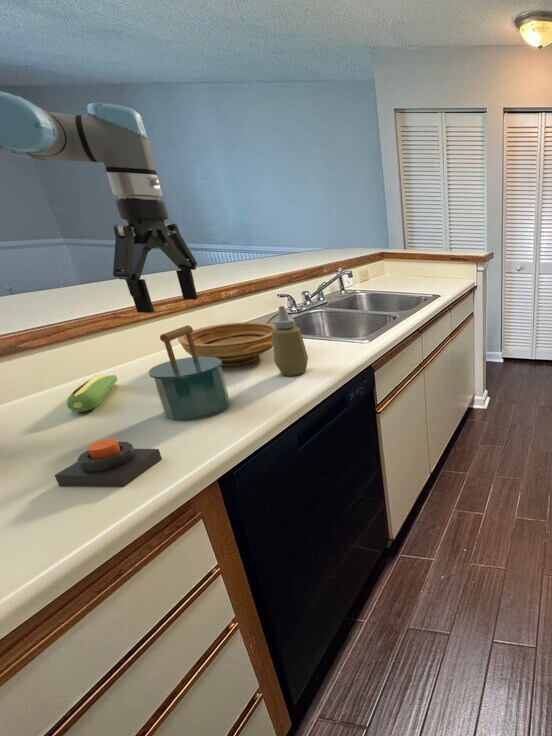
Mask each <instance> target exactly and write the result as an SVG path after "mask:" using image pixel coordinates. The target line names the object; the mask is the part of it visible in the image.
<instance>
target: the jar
mask: <svg viewBox="0 0 552 736" xmlns="http://www.w3.org/2000/svg"><path fill="white" fill-rule="evenodd" d="M152 379H153V382H154V385H155V388H156V390H157V393H158V397H159V400H160V403H161V405H162V409H163V412H164V414H165V417H166V418H167V419H168V420H171V421H175V422H187V421H195V420H201V419H205V418H210V417H213V416H215V415H219V414H220V413H222V412H224V411H225V410H227V409H228V408H229V407H230V405H231V403H230V402H231V401H230V398H229V397H230V396H229V393H228V389H227V386H226V382H225V377H224V374H223V370H222V366H221V367H219V368H218V369H216V370H214V371H212V372H209V373H206V374H202V375H198V376H194V377H189V378H182V379H155V378H152Z"/></svg>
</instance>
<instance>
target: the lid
mask: <svg viewBox="0 0 552 736" xmlns="http://www.w3.org/2000/svg"><path fill="white" fill-rule="evenodd" d="M193 330H194V329H193V327H192V326H191V325H185V326H182V327H181V326H180V327H179V328H176V329H173V330H171V331H167V332H164V333H162V334H160V335H159V339H160V341H161V342H163V343H164V347H165V349H166V352H167V356H168V359H169V360H168V361H165V362H162V363H159V364H157V365H154V366H153V367H150V369H149V370H148V375H149V377H150V378H152V379H153V378H155V379H182V378H189V377H194V376H198V375H202V374H206V373H209V372H212V371H214V370H216V369H218V368H219V367H221V368H222V366H223V365H222V361H221V359H219V358H216V357H198V356H197V353H196V349H195V346H194V342H193V338H192V335H191V333H192V332H193ZM184 335H186V337H187V340H188V344H189V347H190V351H191V354H192V355H191V356H190V357H189V356H188V357H183V358H178V359H177V358H176V356H175V352H174V350H173V346H172V343H171V342H172V341H173V340H176V339H178V338H179V337H182V336H184Z"/></svg>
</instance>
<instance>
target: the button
mask: <svg viewBox="0 0 552 736" xmlns="http://www.w3.org/2000/svg"><path fill="white" fill-rule="evenodd" d="M118 442H119V441H118V439H115V438H106V439H102V440H98V441H95V442H93V443H91V444H89V445H88V446H87V447H86V448H87V450H88V452H89V454H90V456H91V458H92V459H100V458H105V457H108V456H111V455H114V454H116V453H118V452H119V451H120V450H121V449H120V446H119V444H118Z"/></svg>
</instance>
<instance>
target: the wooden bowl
mask: <svg viewBox="0 0 552 736" xmlns="http://www.w3.org/2000/svg"><path fill="white" fill-rule="evenodd" d="M275 328H276V327H275V324H272V323H267V322H256V321H255V322H253V321H243V322H230V323H221V324H214V325H210V326H204V327H200V328H196V329H193V332H192V333H191V335H192V338H193V342H194V346H195V349H196V353H197V356H198V357H216V358H219V359H221V361H222V365H221V366H237V365H239V366H240V365H244V364H248V363H251V362H254V361H256V360H258V359H259V358H260V355H262V354H264V353H266V352H267V351H270V350H271V349H272V348H273V337H272V331H273V330H274V329H275ZM177 341H178V343H180V345H181V347H182V348H183V350H184V351H185V352H186V353H187V354H188V355H190V356H192V354H191V351H190V347H189V344H188V340H187V337H186V335H184V336H182V337H179V338H177Z"/></svg>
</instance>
